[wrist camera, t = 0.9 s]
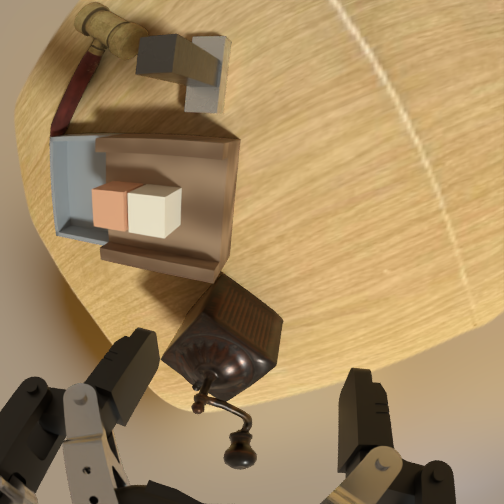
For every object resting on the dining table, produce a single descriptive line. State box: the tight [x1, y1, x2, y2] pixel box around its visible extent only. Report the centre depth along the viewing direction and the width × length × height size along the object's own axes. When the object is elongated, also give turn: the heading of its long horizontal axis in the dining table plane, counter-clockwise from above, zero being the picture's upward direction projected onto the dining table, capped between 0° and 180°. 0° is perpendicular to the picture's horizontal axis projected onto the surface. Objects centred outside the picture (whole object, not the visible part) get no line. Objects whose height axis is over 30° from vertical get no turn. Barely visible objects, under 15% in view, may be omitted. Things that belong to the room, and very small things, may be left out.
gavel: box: [49, 3, 148, 146], centre depth 31 cm, size 21×5×10 cm
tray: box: [50, 133, 127, 245], centre depth 36 cm, size 14×11×4 cm
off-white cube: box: [128, 184, 182, 239], centre depth 30 cm, size 4×4×4 cm
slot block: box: [95, 133, 240, 284], centre depth 33 cm, size 14×14×7 cm
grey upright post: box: [136, 34, 232, 114], centre depth 24 cm, size 9×4×14 cm, turn 174°
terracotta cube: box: [92, 181, 143, 232], centre depth 30 cm, size 4×4×4 cm
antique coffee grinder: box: [161, 274, 283, 469], centre depth 34 cm, size 16×11×18 cm
